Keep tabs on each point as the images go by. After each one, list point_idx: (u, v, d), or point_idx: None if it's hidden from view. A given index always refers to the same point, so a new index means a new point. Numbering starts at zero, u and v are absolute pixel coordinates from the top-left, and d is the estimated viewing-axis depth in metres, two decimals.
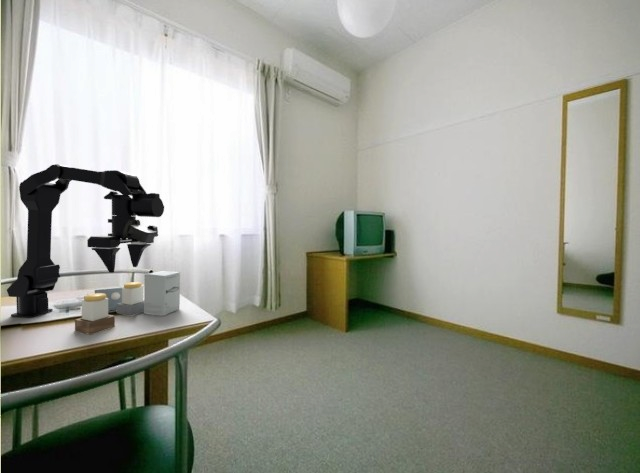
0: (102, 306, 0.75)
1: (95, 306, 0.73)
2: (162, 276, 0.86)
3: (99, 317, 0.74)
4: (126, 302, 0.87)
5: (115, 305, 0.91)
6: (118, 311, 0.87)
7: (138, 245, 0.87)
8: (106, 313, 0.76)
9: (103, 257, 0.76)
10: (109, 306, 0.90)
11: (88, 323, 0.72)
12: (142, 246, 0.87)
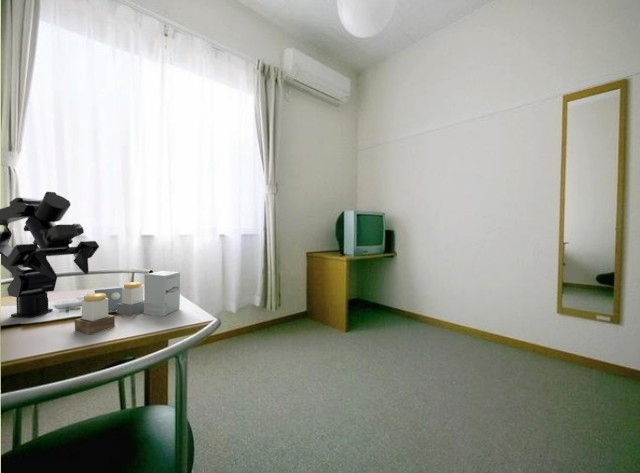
0: (102, 306, 0.75)
1: (95, 306, 0.73)
2: (162, 276, 0.86)
3: (99, 317, 0.74)
4: (126, 302, 0.87)
5: (115, 305, 0.91)
6: (118, 311, 0.87)
7: (79, 253, 0.83)
8: (106, 313, 0.76)
9: (39, 268, 0.74)
10: (109, 306, 0.90)
11: (88, 323, 0.72)
12: (81, 251, 0.82)
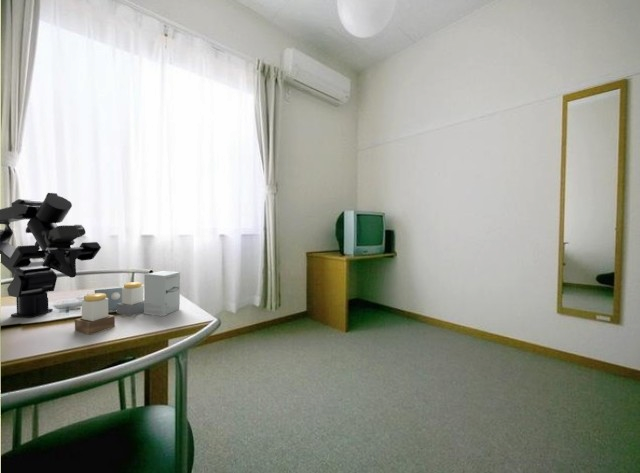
0: (102, 306, 0.75)
1: (95, 306, 0.73)
2: (162, 276, 0.86)
3: (99, 317, 0.74)
4: (126, 302, 0.87)
5: (115, 305, 0.91)
6: (118, 311, 0.87)
7: (66, 256, 0.79)
8: (106, 313, 0.76)
9: (57, 268, 0.77)
10: (109, 306, 0.90)
11: (88, 323, 0.72)
12: (69, 253, 0.79)
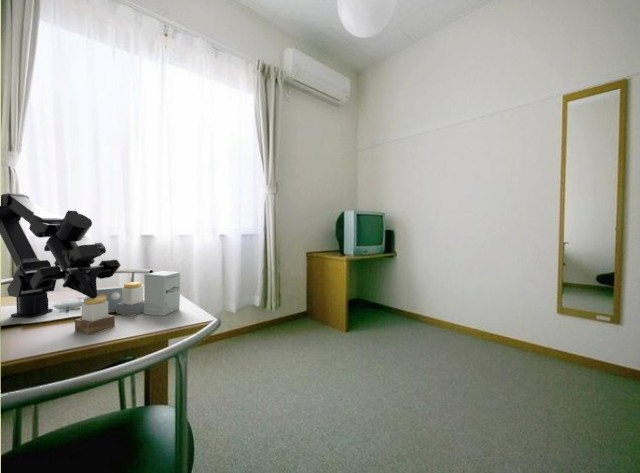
0: (102, 309, 0.75)
1: (95, 309, 0.73)
2: (162, 276, 0.86)
3: None
4: (126, 302, 0.87)
5: (115, 305, 0.91)
6: (118, 311, 0.87)
7: (87, 275, 0.77)
8: (106, 316, 0.76)
9: (78, 288, 0.74)
10: (109, 306, 0.90)
11: (88, 323, 0.72)
12: (89, 273, 0.76)
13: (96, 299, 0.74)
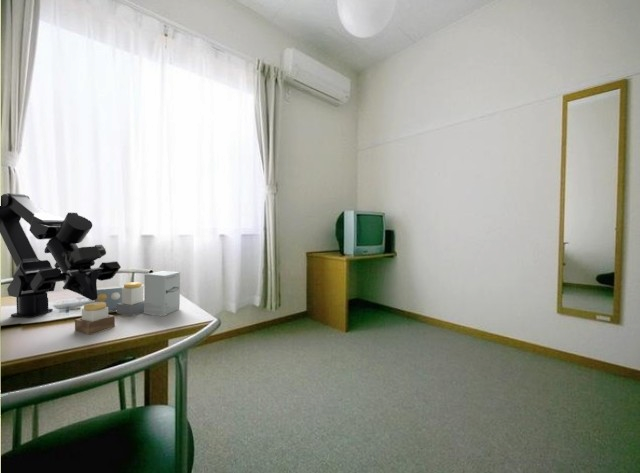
0: (102, 315, 0.75)
1: (95, 315, 0.73)
2: (162, 276, 0.86)
3: None
4: (126, 302, 0.87)
5: (115, 305, 0.91)
6: (118, 311, 0.87)
7: (87, 277, 0.77)
8: None
9: (78, 290, 0.74)
10: (109, 306, 0.90)
11: (88, 323, 0.72)
12: (89, 275, 0.76)
13: (96, 305, 0.74)
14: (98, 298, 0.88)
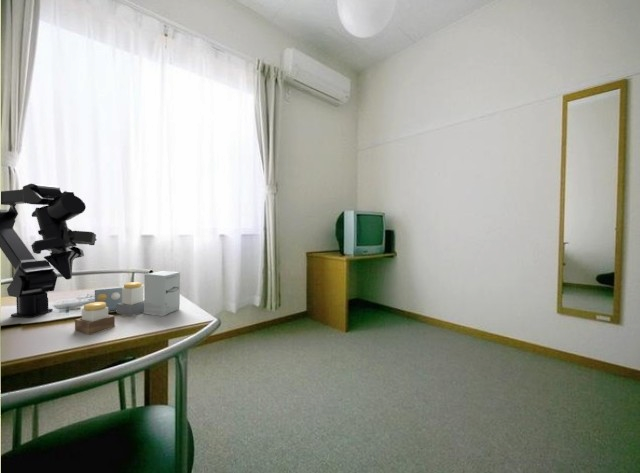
0: (102, 315, 0.75)
1: (95, 315, 0.73)
2: (162, 276, 0.86)
3: None
4: (126, 302, 0.87)
5: (115, 305, 0.91)
6: (118, 311, 0.87)
7: None
8: None
9: (57, 265, 0.77)
10: (109, 306, 0.90)
11: (88, 323, 0.72)
12: (72, 255, 0.81)
13: (96, 305, 0.74)
14: (98, 298, 0.88)
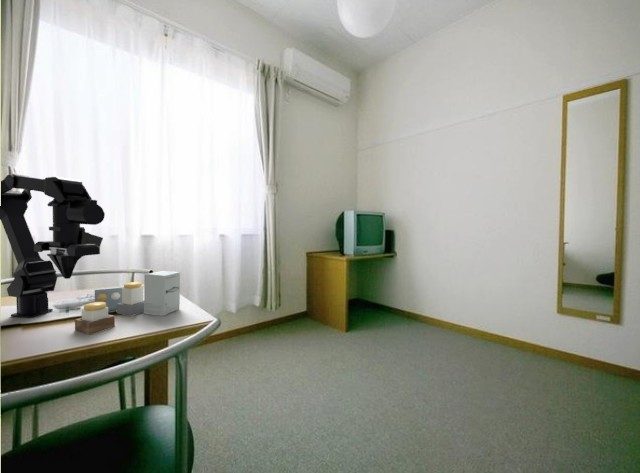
0: (102, 315, 0.75)
1: (95, 315, 0.73)
2: (162, 276, 0.86)
3: None
4: (126, 302, 0.87)
5: (115, 305, 0.91)
6: (118, 311, 0.87)
7: None
8: None
9: (66, 264, 0.78)
10: (109, 306, 0.90)
11: (88, 323, 0.72)
12: None
13: (96, 305, 0.74)
14: (98, 298, 0.88)
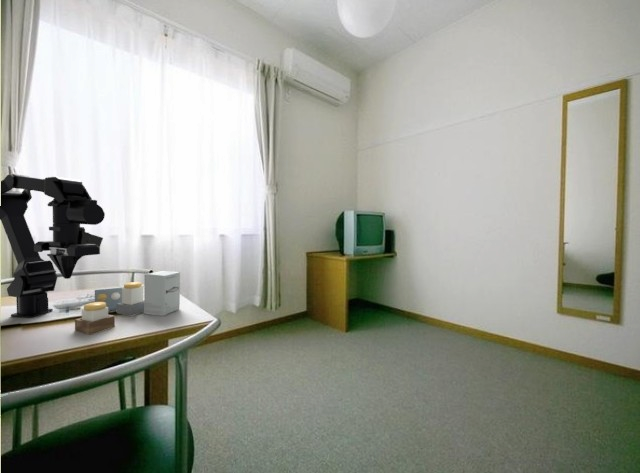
0: (102, 315, 0.75)
1: (95, 315, 0.73)
2: (162, 276, 0.86)
3: None
4: (126, 302, 0.87)
5: (115, 305, 0.91)
6: (118, 311, 0.87)
7: None
8: None
9: (66, 264, 0.78)
10: (109, 306, 0.90)
11: (88, 323, 0.72)
12: None
13: (96, 305, 0.74)
14: (98, 298, 0.88)
